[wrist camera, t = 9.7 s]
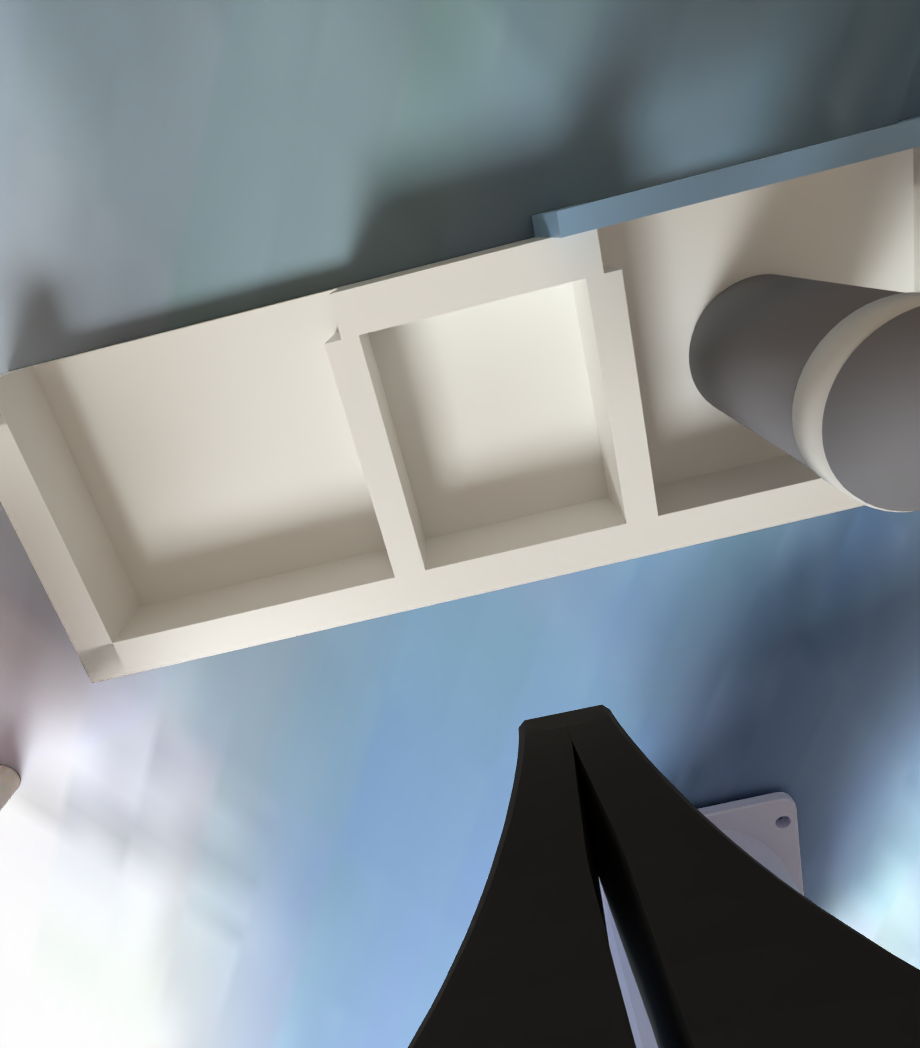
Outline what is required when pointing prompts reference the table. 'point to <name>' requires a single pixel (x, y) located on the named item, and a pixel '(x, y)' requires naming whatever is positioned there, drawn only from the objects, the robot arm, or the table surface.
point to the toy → (7, 784)
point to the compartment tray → (436, 418)
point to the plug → (821, 378)
